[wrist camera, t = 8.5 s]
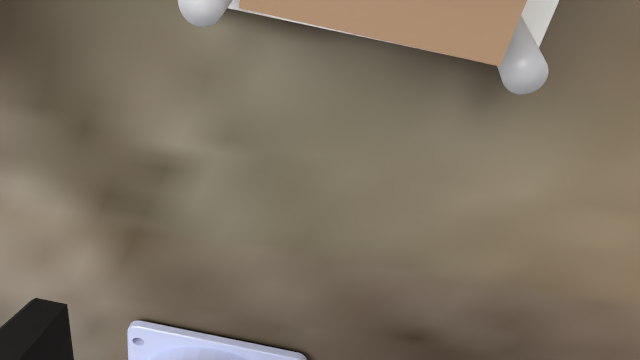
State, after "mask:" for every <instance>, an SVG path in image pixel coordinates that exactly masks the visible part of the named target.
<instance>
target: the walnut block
mask: <svg viewBox="0 0 640 360" xmlns="http://www.w3.org/2000/svg"><path fill="white" fill-rule="evenodd" d="M526 2H527V0H240V3H239V8H240V9H245V10H249V11H254V12H258V13H262V14H267V15H271V16H276V17H280V18H285V19H289V20H294V21H298V22H303V23H307V24H312V25H316V26H321V27H325V28H330V29H334V30H339V31H343V32H348V33H352V34H357V35H361V36H366V37H370V38H375V39H379V40H384V41H388V42H392V43H397V44H401V45H406V46H410V47H415V48H419V49H424V50H428V51H433V52H437V53H442V54H446V55H451V56H455V57H460V58H464V59H469V60H473V61H478V62H482V63H487V64H491V65H496V66H501V63H502V61H503V58H504V56H505V53H506V51H507V48H508V46H509V44H510V41H511V39H512V36H513V34H514V31H515V29H516V26H517V24H518V21H519V19H520V16H521V14H522V12H523V9H524V7H525V4H526Z"/></svg>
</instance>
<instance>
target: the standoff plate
mask: <svg viewBox="0 0 640 360" xmlns="http://www.w3.org/2000/svg"><path fill="white" fill-rule="evenodd" d="M558 2H559V0H527V2H526V4H525V7H524V9H523V12H522V14H521V16H520V19H519V21H518V24H517V26H516V29H515V31H514V34H513V36H512V39H511V41H510V44H509V46H508V48H507V51H506V53H505V56H504V58H503V61H502V63H501V66H497V67H498V70H499V73H500V76H501V79H502V82H503V84H504V86H505V87H506V88H507V89H508V90H509V91H510V92H512V93H515V94H529V93H532V92H534V91H536V90H537V89H539V88H540V87H541V86H542V85H543V84H544V83H545V81H546V79H547V77H548V65H547V63H546V61H545V59H544V57H543V55H542V53H541V51H540V49H539V46H540V44H541V42H542V39H543V37H544V35H545V32H546V30H547V28H548V25H549V23H550V21H551V18H552V16H553V14H554V11H555V9H556V7H557V4H558ZM239 3H240V0H178V4H179V8H180V11H181V13H182V15H183V16H184V17H185V19H186V20H187V21H189V22H190V23H192V24H193V25H196V26H199V27H209V26H212V25H214V24H215V23H217V22H218V20H219V19H220V18H221V16H222V15H223V13H224V12H225V11H226V9H227V8H229V9H234V10H239V11H244V12H248V13H253V14H258V15H262V16H267V17H272V18H276V19H281V20H286V21H290V22H295V23H300V24H305V25H309V26H314V27H319V28H323V29H328V30H333V31H337V32H342V33H347V34H351V35H356V36H361V35H357V34H352V33H348V32H343V31H339V30H334V29H330V28H325V27H321V26H316V25H312V24H307V23H303V22H298V21H294V20H289V19H285V18H280V17H276V16H271V15H267V14H262V13H258V12H254V11H249V10H245V9H240V8H239ZM361 37H366V36H361ZM366 38H370V37H366ZM370 39H375V38H370ZM375 40H379V39H375ZM380 41H384V40H380ZM384 42H388V41H384ZM389 43H392V42H389ZM394 44H397V43H394ZM398 45H401V44H398ZM403 46H406V45H403ZM408 47H410V46H408ZM413 48H415V47H413ZM417 49H419V48H417ZM422 50H424V49H422ZM427 51H428V50H427ZM431 52H433V51H431ZM436 53H437V52H436ZM441 54H442V53H441ZM445 55H446V54H445ZM450 56H451V55H450ZM459 58H460V57H459Z"/></svg>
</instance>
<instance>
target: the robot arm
mask: <svg viewBox="0 0 640 360" xmlns="http://www.w3.org/2000/svg"><path fill="white" fill-rule="evenodd" d="M127 334H128V360H307V358H306V357H305V356H304V355H303V354H301V353H298V352H293V351H288V350H283V349H278V348H273V347H269V346H264V345H259V344H254V343H249V342H244V341H239V340H234V339H229V338H224V337H219V336H214V335H209V334H204V333H199V332H195V331H190V330H185V329H180V328H175V327H170V326H165V325H160V324H155V323H150V322H145V321H138V320H137V321H133V322H132V323H131V324H130V326H129V328H128V331H127ZM0 360H74V357H73V349H72V341H71V333H70V324H69V316H68V308H67V304H63V303H58V302H53V301H48V300H43V299H38V298H35V299H33V300H31V301H30V302H29V303H28V304H27V305H25V306H24V307H23V308H22V309H21V310H20V311H19V312H18V313H16V314H15V315H14V316H13V317H12V318H11V319H10V320H8V321H7V322H6V323H5V324H4V325H3V326H2V327H0Z"/></svg>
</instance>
